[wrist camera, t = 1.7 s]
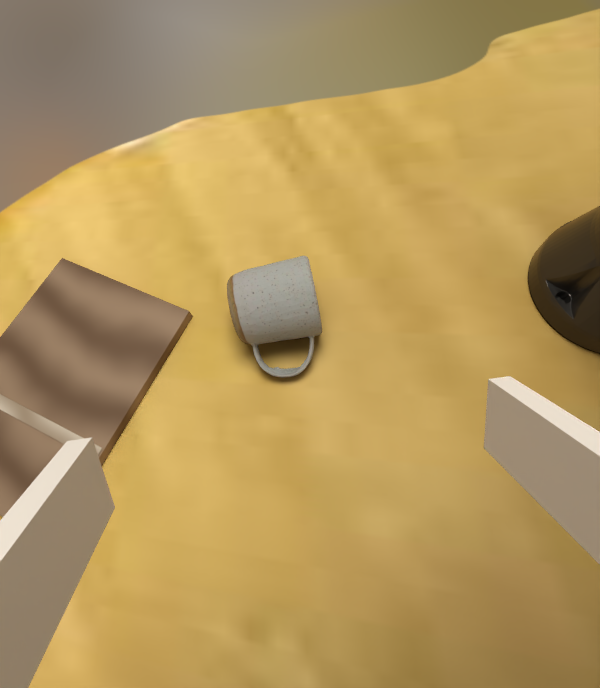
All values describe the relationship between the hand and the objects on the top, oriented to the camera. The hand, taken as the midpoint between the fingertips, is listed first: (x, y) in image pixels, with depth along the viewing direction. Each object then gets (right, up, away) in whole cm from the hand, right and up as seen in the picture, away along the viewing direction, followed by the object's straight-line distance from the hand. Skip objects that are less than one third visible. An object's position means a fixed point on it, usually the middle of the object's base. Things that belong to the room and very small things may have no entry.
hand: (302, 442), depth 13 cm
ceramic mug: (-2, +5, +27) cm, 28 cm away
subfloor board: (-24, -1, +26) cm, 36 cm away
